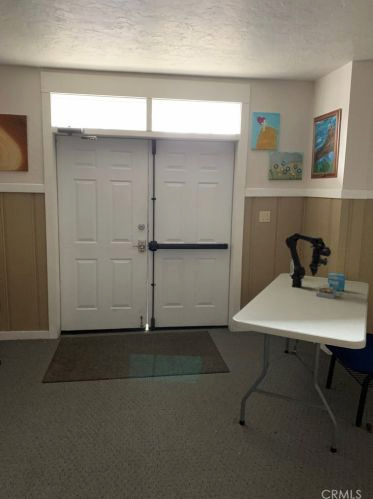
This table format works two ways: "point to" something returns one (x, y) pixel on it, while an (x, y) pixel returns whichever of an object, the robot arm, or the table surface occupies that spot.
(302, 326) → the table surface
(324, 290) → the brown cardboard box
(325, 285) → the pale green block
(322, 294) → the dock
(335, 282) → the data package
